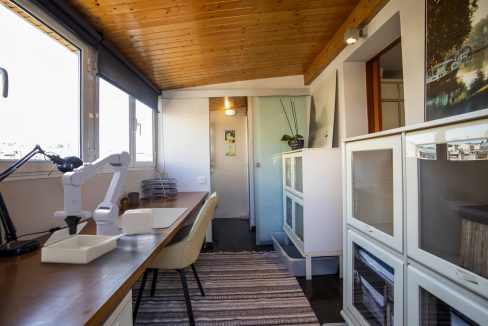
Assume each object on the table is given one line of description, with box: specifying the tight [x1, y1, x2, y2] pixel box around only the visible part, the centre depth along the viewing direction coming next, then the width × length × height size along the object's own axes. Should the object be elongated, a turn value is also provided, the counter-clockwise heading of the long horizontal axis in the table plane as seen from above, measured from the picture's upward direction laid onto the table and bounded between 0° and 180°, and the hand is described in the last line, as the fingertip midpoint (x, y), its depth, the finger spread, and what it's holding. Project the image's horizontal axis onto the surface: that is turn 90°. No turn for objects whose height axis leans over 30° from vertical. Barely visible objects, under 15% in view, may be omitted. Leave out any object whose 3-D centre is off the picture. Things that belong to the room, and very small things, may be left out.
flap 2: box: [89, 232, 131, 249], centre depth 99 cm, size 16×7×1 cm, turn 174°
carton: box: [40, 234, 117, 265], centre depth 100 cm, size 18×18×5 cm
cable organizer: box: [121, 208, 154, 236], centre depth 133 cm, size 15×11×12 cm
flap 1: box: [43, 221, 88, 247], centre depth 101 cm, size 16×7×1 cm
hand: (72, 234), depth 100 cm, fingers closed, pressing on flap 1
